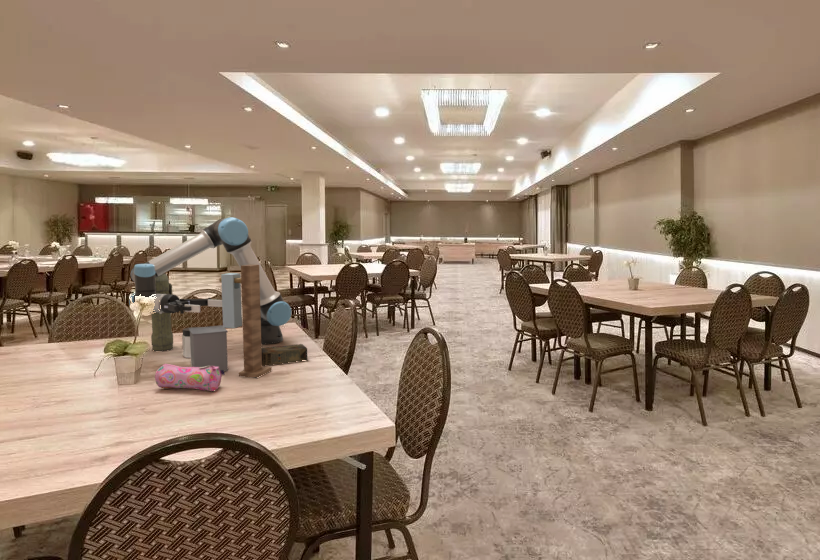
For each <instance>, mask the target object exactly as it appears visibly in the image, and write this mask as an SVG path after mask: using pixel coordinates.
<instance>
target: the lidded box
mask: <svg viewBox="0 0 820 560" xmlns="http://www.w3.org/2000/svg"><path fill="white" fill-rule="evenodd" d="M196 327H197V328H190V327H188V328H189V331H190V347H191V358H190V367H205V366H209V365H210V366H215V367H219V368H218V369H220V370H224V372H228V371H229V366H228V365H229V364H228V363H229V362H228V361H229V360H228V338H227V337H228V336H227V334H228V330H227V328H223V324H222V325H213V326H212V325H211V326H196Z"/></svg>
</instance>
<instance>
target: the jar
mask: <svg viewBox="0 0 820 560" xmlns="http://www.w3.org/2000/svg"><path fill="white" fill-rule="evenodd" d="M197 327H198V326H191V327H186V328H183V329H182V335H181V340H182V341H181V344H182V357H184V358H185V359H191V347H190V331H189V328H197Z"/></svg>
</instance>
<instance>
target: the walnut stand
mask: <svg viewBox="0 0 820 560" xmlns="http://www.w3.org/2000/svg"><path fill="white" fill-rule="evenodd" d="M240 274H241V278H234V283H241V306H242V346H243V347H242V349H243V370H241V371H239V372H238V377H240V376H245V377H244V378H250V377H259V376H261V375H263V374H265V373H266V374H268V373H270V372H271V370H272V367H271V366H262V350H261V348H262V344H261V313H260V276H259V265H251V264H250V265H242V266H241V269H240ZM218 281H219V282H220V283H222V282H221V276H220V277H219V280H218ZM269 371H270V372H269ZM272 371H273V370H272ZM267 372H268V373H267ZM266 374H265V375H266ZM263 376H264V375H263ZM261 377H262V376H261ZM259 378H260V377H259Z"/></svg>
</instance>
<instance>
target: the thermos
mask: <svg viewBox="0 0 820 560" xmlns="http://www.w3.org/2000/svg"><path fill="white" fill-rule="evenodd" d="M155 281H156V294H171V295H174V294H173V285H172V284H171V283H170V280H169V277H168V274H166V272H165V273H163V274H161V275H160V276H158V277H156V278H155ZM150 314H151V313H150ZM151 330H152V334H151V336H150V338H151V340H150V341H151V348H152V351H153V350H154V351H153V352H156V351H162V352H168V351H167V350H169V351H172V350H173V349H174V334H173V332H172V330H173V329H172V313H162V314H159V312H156V313H154V314H151ZM171 349H172V350H171Z"/></svg>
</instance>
